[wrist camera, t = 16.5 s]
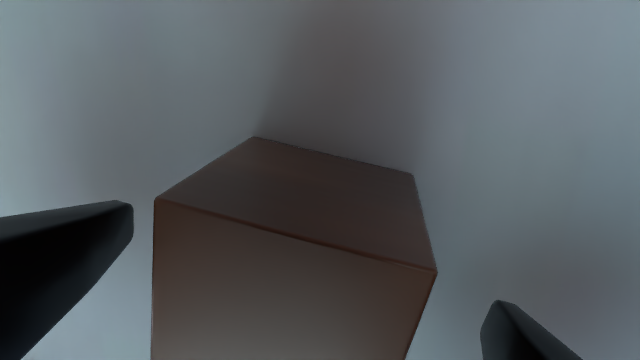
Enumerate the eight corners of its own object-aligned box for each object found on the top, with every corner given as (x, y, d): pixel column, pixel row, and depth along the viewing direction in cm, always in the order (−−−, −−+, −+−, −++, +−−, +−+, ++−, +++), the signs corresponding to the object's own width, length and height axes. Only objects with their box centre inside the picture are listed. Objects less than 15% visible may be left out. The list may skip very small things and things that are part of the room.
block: (413, 173, 9) (440, 272, 5) (372, 307, 11) (366, 465, 7) (251, 135, 10) (152, 197, 5) (234, 270, 11) (148, 397, 7)
